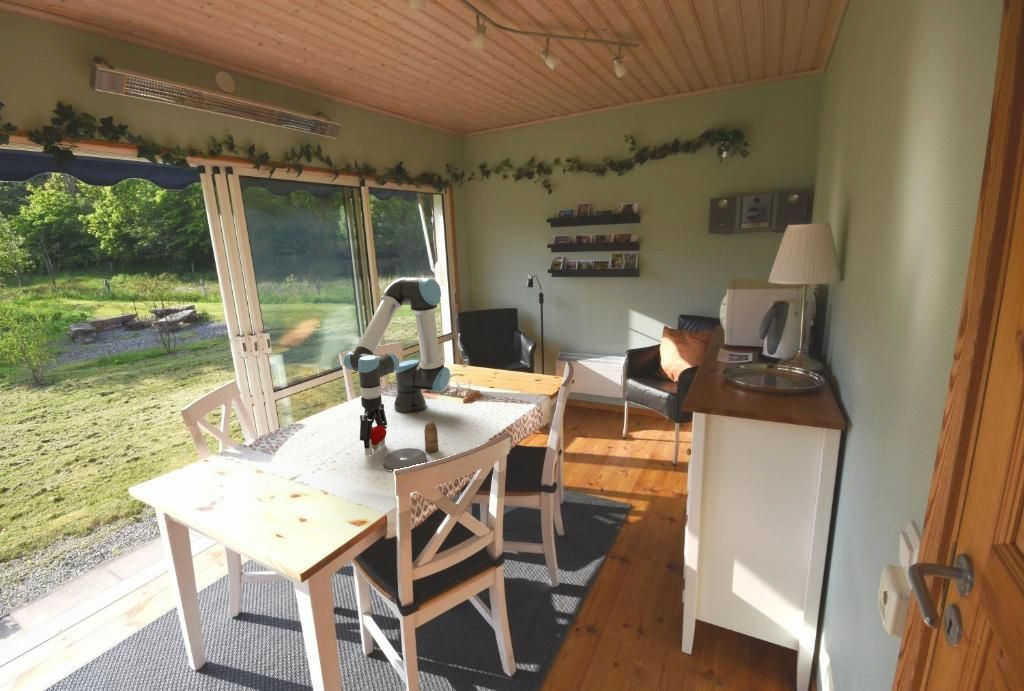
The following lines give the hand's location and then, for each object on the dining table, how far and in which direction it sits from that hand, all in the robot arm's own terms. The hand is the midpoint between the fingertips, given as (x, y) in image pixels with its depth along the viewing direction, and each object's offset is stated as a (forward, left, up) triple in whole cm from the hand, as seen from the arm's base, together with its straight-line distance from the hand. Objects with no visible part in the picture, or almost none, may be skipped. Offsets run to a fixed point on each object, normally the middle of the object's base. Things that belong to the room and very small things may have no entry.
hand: (375, 449), depth 189 cm
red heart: (0, 0, 0) cm, 0 cm away
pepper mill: (-5, +22, 0) cm, 23 cm away
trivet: (+6, +16, 0) cm, 17 cm away
